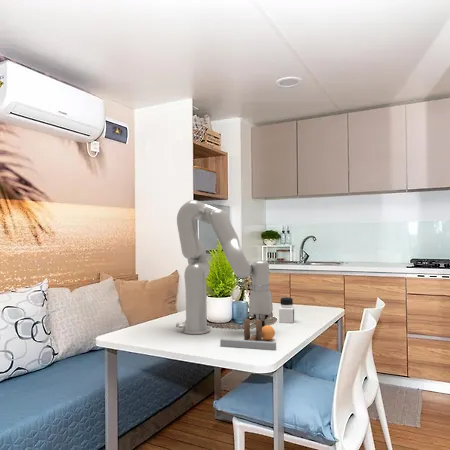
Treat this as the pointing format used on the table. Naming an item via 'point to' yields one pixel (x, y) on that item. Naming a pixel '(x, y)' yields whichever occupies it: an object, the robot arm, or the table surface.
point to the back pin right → (258, 330)
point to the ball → (267, 332)
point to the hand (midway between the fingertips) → (261, 329)
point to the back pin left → (246, 329)
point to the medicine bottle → (286, 310)
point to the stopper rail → (248, 344)
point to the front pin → (252, 338)
